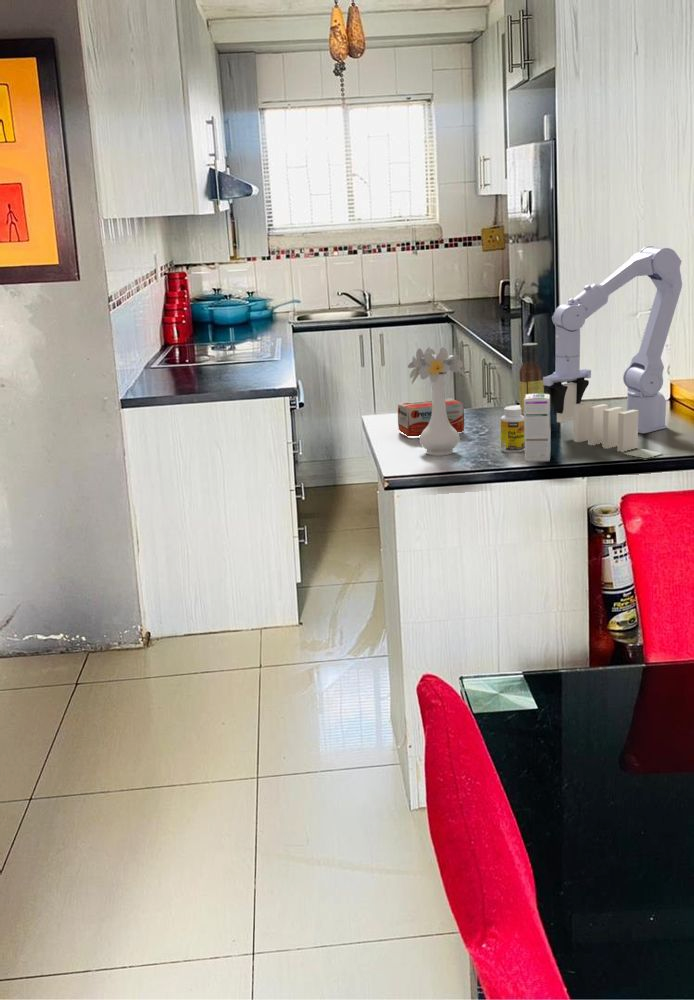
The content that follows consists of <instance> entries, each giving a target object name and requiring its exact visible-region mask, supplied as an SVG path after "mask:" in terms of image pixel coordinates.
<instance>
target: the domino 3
mask: <svg viewBox="0 0 694 1000" xmlns="http://www.w3.org/2000/svg"><path fill="white" fill-rule="evenodd" d="M606 409H609V405H608V404H606V403H601V404H598V405H594V406H592V407H589V411H588V440H587V445H589V446H592V445H593V446H597V445H601V444H602V441H603V410H606ZM600 443H601V444H600ZM596 444H597V445H596Z"/></svg>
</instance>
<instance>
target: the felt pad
mask: <svg viewBox="0 0 694 1000" xmlns="http://www.w3.org/2000/svg"><path fill="white" fill-rule="evenodd" d="M624 454H627V455H626V456H628V455H633V456H634V455H636V456H638V455H641V456H640V457H642V458H643V457H644V458H648V457H652V458H654V457H653V456H656V457H658V456H657V455H660V454H663V455H664V453H663V452H658V451H653V450H649V449H643V448H640V449H634V450H630V451H627V452H623V455H624ZM637 454H638V455H637ZM660 456H661V455H660Z"/></svg>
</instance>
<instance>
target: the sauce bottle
mask: <svg viewBox="0 0 694 1000" xmlns="http://www.w3.org/2000/svg"><path fill="white" fill-rule="evenodd" d="M521 347H522V354H523V355H522V356H523V358H522V364H521V366H520V368H519V371H518V373H519V384H518V385H519V407H521V409H522V414H521V415H522V416H524V397H525V395H526V394H536V393H543V394H545V388H544V387H545V385H543V377H544V375H543V369H542V368H541V366H540V363H539V355H538V350H539V344H538V343H536V342H527V343H522V346H521Z"/></svg>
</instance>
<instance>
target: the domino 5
mask: <svg viewBox="0 0 694 1000" xmlns="http://www.w3.org/2000/svg"><path fill="white" fill-rule="evenodd" d="M638 414H639V410H629V411H627V410H623V412H620V413H618V445H617V449H616V451H617V452H619V451H621V452H620V453H624V452H623V451H626V452H628V451H627V450H630V451H632V450H631V449H634V448H637V449H638V443H639V442H638V441H639V440H638V438H639V437H638V436H639V433H638ZM634 450H635V449H634Z"/></svg>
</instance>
